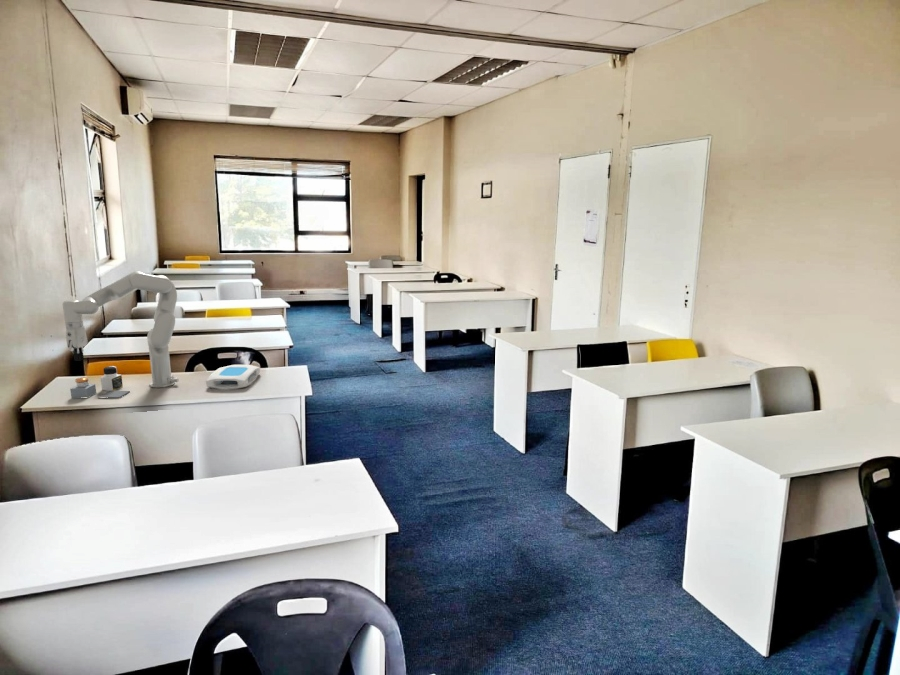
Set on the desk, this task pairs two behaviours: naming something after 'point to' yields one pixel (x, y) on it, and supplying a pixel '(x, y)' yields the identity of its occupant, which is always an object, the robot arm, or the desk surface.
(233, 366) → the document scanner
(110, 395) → the mat
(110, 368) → the medicine bottle
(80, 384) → the release plunger
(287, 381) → the desk surface
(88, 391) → the release housing
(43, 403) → the desk surface
